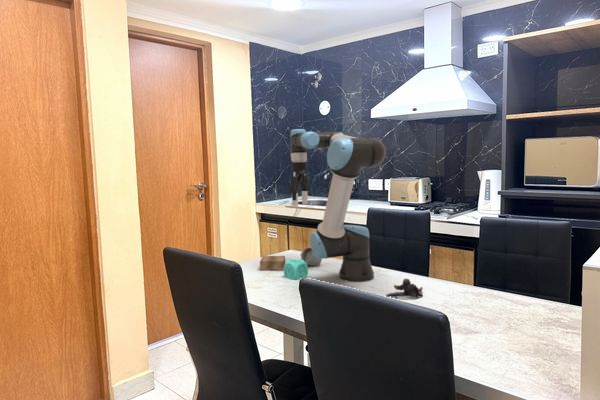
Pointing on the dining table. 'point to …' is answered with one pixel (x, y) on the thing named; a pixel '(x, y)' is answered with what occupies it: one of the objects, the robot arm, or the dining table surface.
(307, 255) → the ceramic mug
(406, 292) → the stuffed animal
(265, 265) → the base block
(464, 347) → the dining table surface
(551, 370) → the dining table surface
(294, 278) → the decorative dice
